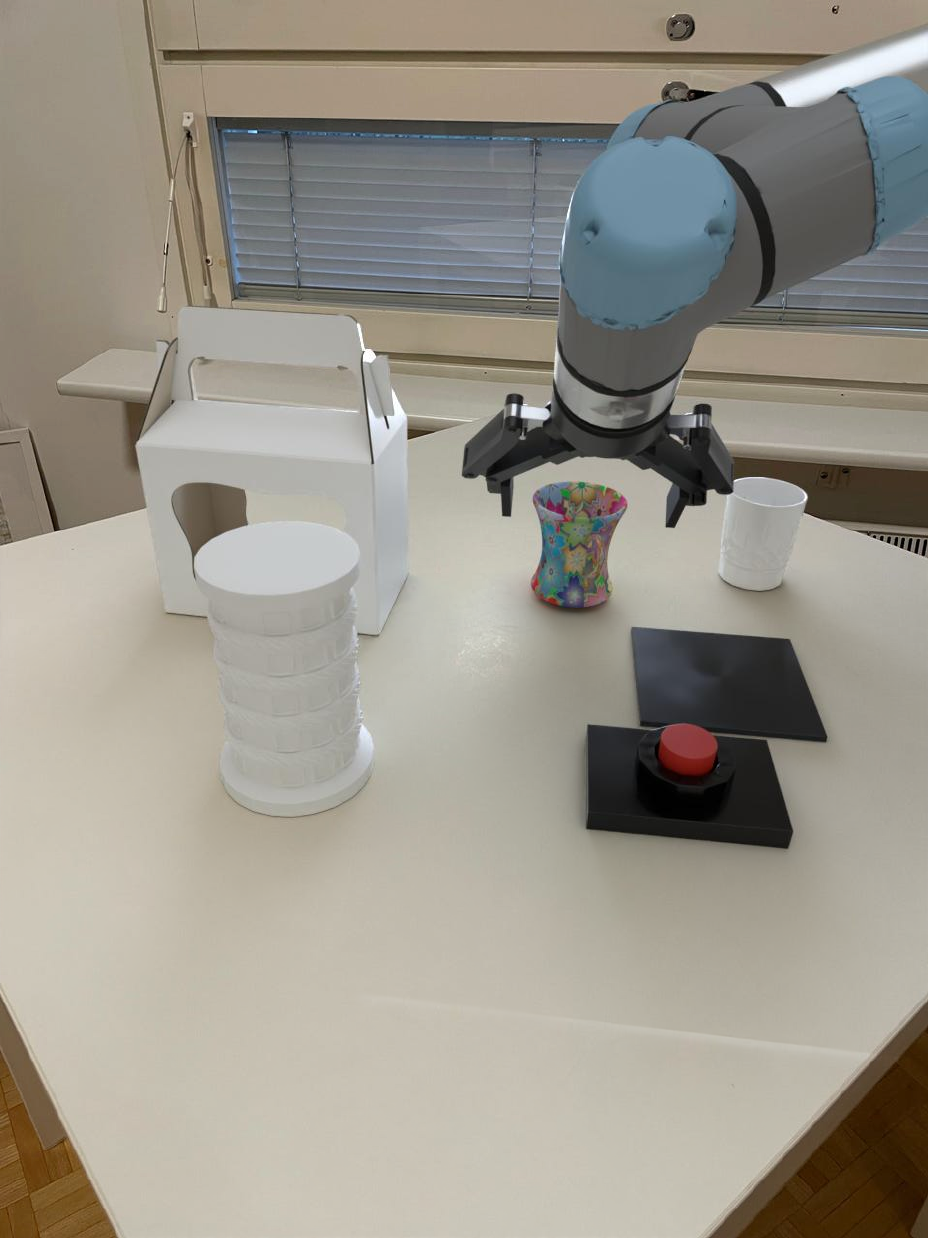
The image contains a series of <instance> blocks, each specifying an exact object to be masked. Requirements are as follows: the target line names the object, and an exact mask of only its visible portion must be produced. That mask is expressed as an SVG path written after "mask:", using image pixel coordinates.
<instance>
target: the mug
mask: <svg viewBox="0 0 928 1238" xmlns="http://www.w3.org/2000/svg"><path fill="white" fill-rule="evenodd" d="M532 504H533V506H534V508H535V511H536V514H537V518H538V520H539V521H538V522H539V526H540V532H541V543H542V544H541V555H540V559H539V563H538V565H537V568H536V570H535V572H534V573H533V574H532V577H531V579H530V587H531V589H532V591H533V592H534V594H535V595H536V596H537V597H539V598H540V599H542V600H544V601H545V602H547V603H550V604H552V605H555V606H560V607H563V608H574V609H576V608H589V607H592V606H597V605H599V604H602V603H604V602H605V601H606V600H608V599H609V597H610V596H611V595H612V593H613V583H612V580H611V579H610V574H609V568H608V557H609V550H610V546H611V542H612V539H613V535H614V533H615V531H616V529H617V526H618V524H619V522H620V520H621V519H622V518H623V515H624V514H625V513H626V511H627V509H628V501H627V499H626V497H625V496H624V495H623V494H622V493H621V492H619V491H617V490H616V489H614V488H612V487H609V486H606V485H602V484H599V483H593V482H588V481H558V482H552V483H550V484H546V485H544V486H541V487H539V488H538V489H537V490H535V492H534V493H533V495H532Z"/></svg>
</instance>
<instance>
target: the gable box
mask: <svg viewBox="0 0 928 1238" xmlns="http://www.w3.org/2000/svg"><path fill="white" fill-rule="evenodd" d="M155 348H156V360H157V376H156V379H155V382H154V385H153V388H152V390H151V393H150V396H149V400H148V402H147V406H146V408H145V412H144V415H143V418H142V422H141V424H140V426H139V431H138V433H137V437H136V439H135V443H134V446H135V451H136V457H137V463H138V467H139V474H140V480H141V485H142V491H143V497H144V501H145V508H146V513H147V518H148V524H149V530H150V535H151V536H150V537H151V541H152V546H153V552H154V557H155V564H156V569H157V575H158V581H159V586H160V591H161V596H162V601H163V602H162V603H163V607H164V611H165V612H166V613H167V614H175V615H183V616H184V615H186V616H195V617H203V618H207V608H208V602H209V600H210V599H208V598H207V597H206V596H204V595H203V594H202V593H201V591H200V590H199V588H198V586H197V584H196V578H195V571H194V557H195V556H196V554H197V553H198V551H199V550H200V548H201V547H202V546H204V545H205V544H206V543H207V542H209V541H210V540H211V539H213V538H215V537H217V536H219V535H221V534H223V533H225V532H227V531H230V530H234V529H237V528H240V527H243V526H247V525H250V523H249V521H248V518H247V502H248V501H247V500H248V499H247V494H246V491H248V492H252V493H258V494H262V495H267V496H293V495H294V496H295V495H310V496H318V497H323V498H327V499H330V500H332V501H334V502H335V503H337V504H339V506H341V508H342V509H343V511H344V514H345V524H344V529H343V531H342V532H344V533H346V534H348V535H350V536H351V537H352V538H353V540H354V541H355V542H356V543H357V544H358V546H359V550H360V553H361V572H360V576H359V579H358V581H357V582H356V583H355V584H354V585H353V589H354V593H355V595H356V596H355V597H356V600H357V603H356V606H357V607H358V608H357V609H356V618H355V621H354V624H353V625H354V626H355V628H356V632H357V634H361V635H370V636H379V635H380V634H381V632H382V630H383V628H384V626H385V623H386V622H387V620H388V618H389V615H390V613H391V611H392V609H393V607H394V605H395V602H396V601H397V598H398V596H399V594H400V591H401V590H402V588H403V586H404V583H405V582H406V579H407V577H408V575H409V571H410V556H409V555H410V551H409V550H410V548H409V547H410V546H409V544H410V543H409V476H408V475H409V473H408V472H409V468H408V467H409V466H408V463H409V462H408V459H409V458H408V455H409V454H408V417H407V415H406V413H405V411H404V409H403V407H402V405H401V403H400V401H399V399H398V397H397V395H396V393H395V391H394V389H393V388H392V379H391V367H390V357H389V354H377V355H376V354H375V352H374V351H373V350H372V349H365V346H364V341H363V325H361V324H360V323H359V322H358V319H356V318H355V317H354V316H353V315H350V314H338V313H325V312H323V313H322V312H306V311H305V312H303V311H291V310H290V311H287V310H274V309H273V310H271V309H255V308H254V309H253V308H238V307H224V306H223V307H221V306H207V305H206V306H205V305H204V306H203V305H185V306H184V307H182V308H180V310H179V312H178V314H177V337H175V338H174V339H173V340H172V341H171V342H169V341H168V340H166V339H157V340H155ZM195 360H199V361H202V362H207V361H208V360H216V361H229V362H244V363H259V364H272V365H273V364H275V365H288V366H302V367H319V368H333V369H338V370H339V371H347V370H350V371H351V372H352V373H353V374H354V376H355V378H356V380H357V385H358V409H359V411H356V410H354V411H353V410H342V409H330V408H329V409H328V408H327V409H326V408H312V407H300V406H287V405H275V404H262V403H248V402H247V403H246V402H236V401H235V402H234V401H221V400H208V399H207V400H206V399H199V398H198V394H197V393H198V392H197V387H196V382H195V377H194V370H193V366H192V365H193V363H194V362H195Z"/></svg>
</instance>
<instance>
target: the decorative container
mask: <svg viewBox="0 0 928 1238" xmlns="http://www.w3.org/2000/svg"><path fill="white" fill-rule="evenodd" d="M194 571H195V578H196V584H197V586H198V588H199V590H200V591H201V593H202V594H203V595H204V596H206V597H207V598H208V599H210V600H209V602H208V608H207V617H206V618H207V623H208V625H209V627H210V630H211V632H212V634H213V636H214V638H215V639H214V641H213V647H212V648H213V649H212V657H213V663H214V665H215V668H216V669H217V671H218V674H219V675H220V678H219V684H218V697H219V701H220V704H221V705H222V708H223V710H224V712H225V714H224V721H223V731H224V736H225V738H226V740H225V742H224V744H223V746H222V749H221V751H220V753H219V771H220V777H221V782H222V784H223V786H224V788H225V791H226V792H227V794H228V795H229V796H230V797H231V798H232V799H233V800H234V801H235V802H236V803H237V804H238V805H240V806H242V807H244V808H246V809H247V810H249V811H252V812H255V813H259V814H263V815H266V816H271V817H287V818H288V817H289V818H297V817H303V816H308V815H316V814H319V813H322V812H324V811H328V810H331V809H334V808H336V807H338V806H339V805H341V804H343V803H345V802H346V801H348V800H350V799H352V798H353V797H354V796H355V795H356V794H358V792H360V790H361V789H363V787H365V785H366V783H367V782H368V780H369V778H370V777H371V775H372V773H373V769H374V764H375V747H374V743H373V738H372V734H371V733H370V732H369V730H368V729H367V727H366V726H365V725H364V724H363V722H362V721H363V720H364V717H363V716H362V714H363V709H362V705H361V702H360V699H359V694H360V691H361V685H362V682H361V680H360V679H361V678H362V676H361V675H360V669H359V668H358V667H359V666H358V663H357V660H358V655H359V648H360V645H359V642H360V638H359V637H358V633H357V632H356V628H355V626H354V625H353V624H354V621H355V618H356V609H357V608H358V607H357V606H356V603H357V600H356V597H355V596H356V595H355V593H354V589H353V585H354V584H355V583H356V582H357V581H358V579H359V576H360V572H361V553H360V550H359V546H358V544H357V543H356V542H355V541H354V540H353V538H352V537H351V536H350V535H348V534H346V533H344V532H343V531H342V530H341V529H339V528H336V527H332V526H330V525H326V524H323V523H316V522H310V521H301V520H299V521H298V520H278V521H276V520H275V521H266V522H265V521H264V522H259V523H254V524H253V523H252V524H249V525H247V526H243V527H240V528H237V529H234V530H230V531H227V532H225V533H223V534H221V535H219V536H217V537H215V538H213V539H211V540H210V541H209V542H207V543H206V544H205V545H204V546H202V547H201V548H200V550H199V551H198V553H197V554H196V556H195V557H194Z"/></svg>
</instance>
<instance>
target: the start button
mask: <svg viewBox="0 0 928 1238" xmlns="http://www.w3.org/2000/svg"><path fill="white" fill-rule="evenodd" d="M713 735H714V734H712V732H708V731H707V730H705V729H703V728H701V727H698V726H695V725H690V724H675V725H672V726H669V727H667V728H666V729H665V730H664V731H663V732H662V735H661V740H660V746H659V751H658V758H659V761H660V763H661V764H662V765H663V766H664V767H665V768H667V769H669V770H671V771H673V772H676V773H678V774H680V775H689V776H702V775H705V774H708V773H709V772H710V771H711V770H712V768H713V766H714V761H715V757H716V752H717V747H718V745H717V741H716V739H715V738H714V736H713Z"/></svg>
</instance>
